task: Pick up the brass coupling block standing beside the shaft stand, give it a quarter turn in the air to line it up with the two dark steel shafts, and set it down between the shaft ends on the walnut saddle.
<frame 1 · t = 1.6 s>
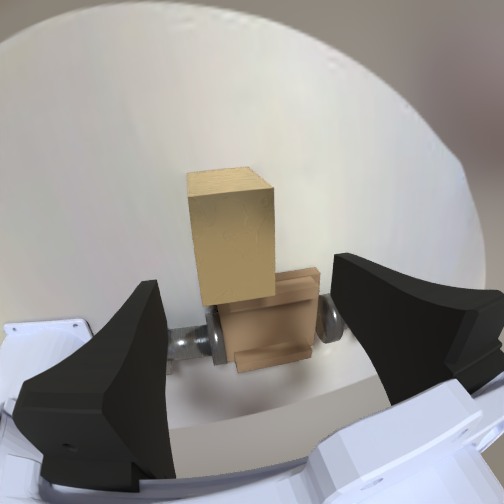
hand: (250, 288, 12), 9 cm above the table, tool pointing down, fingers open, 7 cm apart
shaft stand: (267, 314, 25), on the table
coupling block: (221, 213, 20), on the table
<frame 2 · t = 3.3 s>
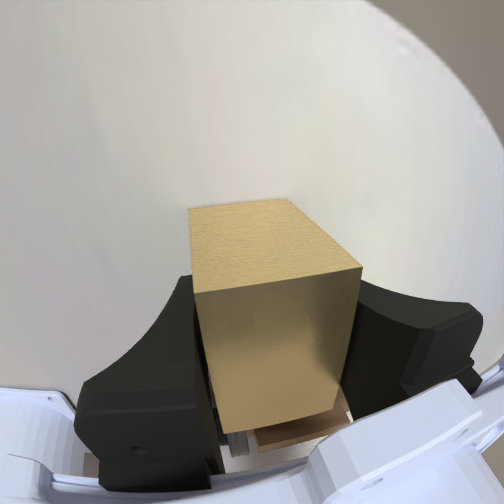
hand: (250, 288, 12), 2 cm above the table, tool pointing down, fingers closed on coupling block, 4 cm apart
shaft stand: (297, 384, 18), on the table
coupling block: (242, 269, 13), on the table, touching gripper
when the fingers open (4 cm above the table, at t = 6.9 s): coupling block stays where it is, resting on shaft stand.
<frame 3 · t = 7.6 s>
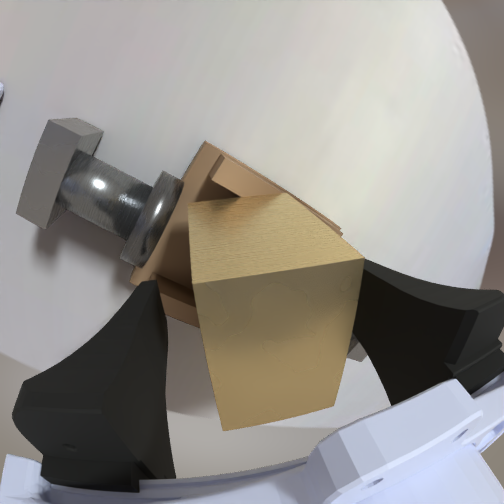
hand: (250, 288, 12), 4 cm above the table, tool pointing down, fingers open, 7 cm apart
shaft stand: (233, 246, 15), on the table
coupling block: (242, 264, 13), point 2 cm above the table, touching shaft stand
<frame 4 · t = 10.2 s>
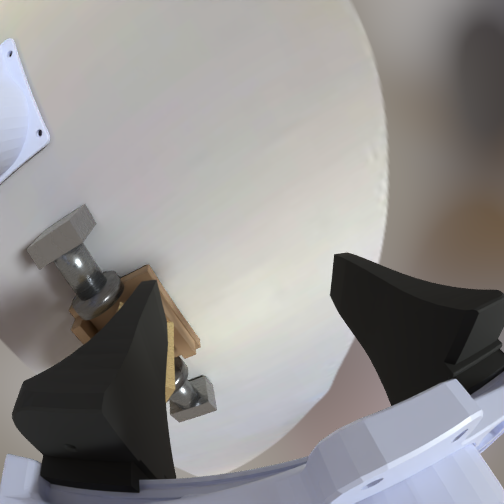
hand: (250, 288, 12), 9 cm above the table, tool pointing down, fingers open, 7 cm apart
shaft stand: (135, 323, 22), on the table
coupling block: (133, 341, 20), point 2 cm above the table, touching shaft stand
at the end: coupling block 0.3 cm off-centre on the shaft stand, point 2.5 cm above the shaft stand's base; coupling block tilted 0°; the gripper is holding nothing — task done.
